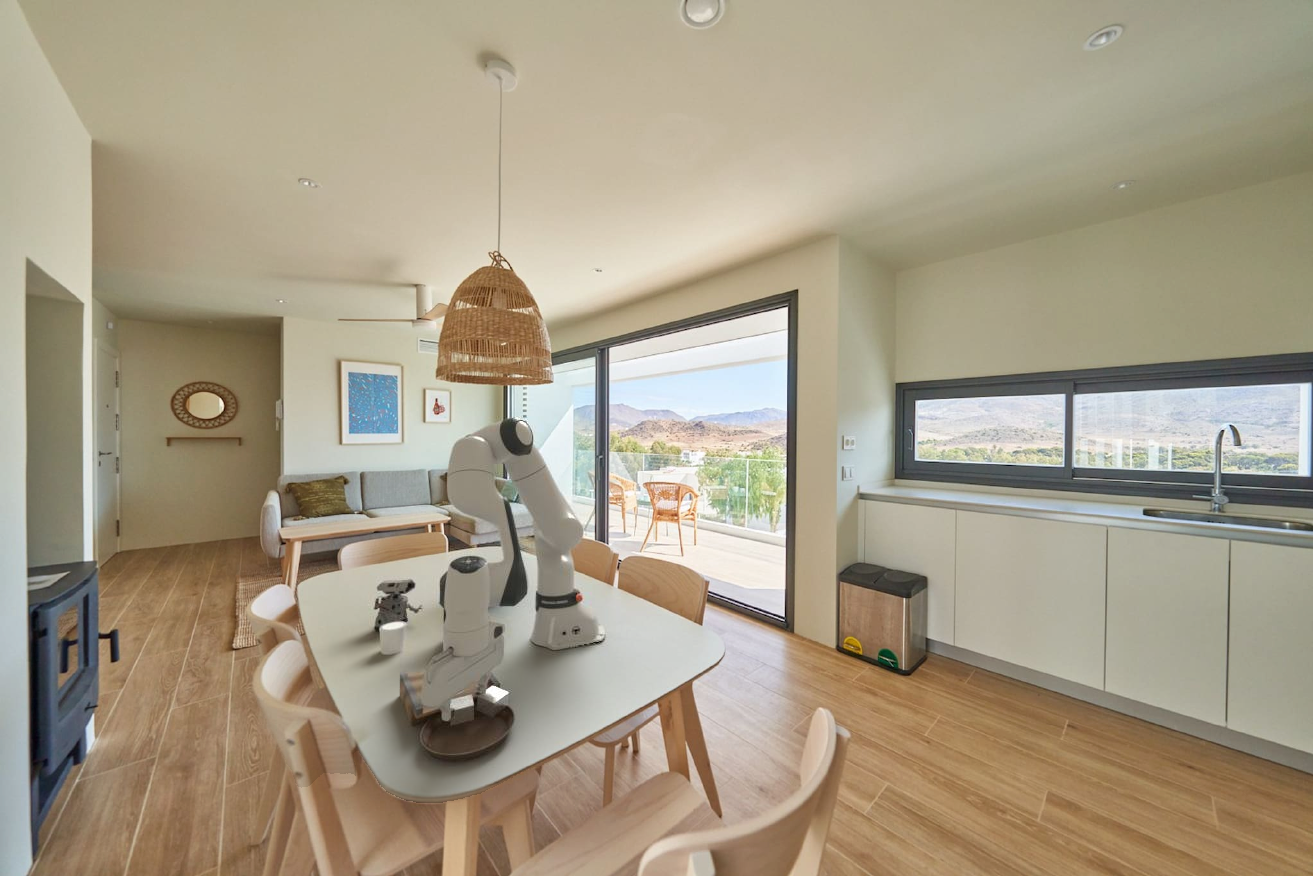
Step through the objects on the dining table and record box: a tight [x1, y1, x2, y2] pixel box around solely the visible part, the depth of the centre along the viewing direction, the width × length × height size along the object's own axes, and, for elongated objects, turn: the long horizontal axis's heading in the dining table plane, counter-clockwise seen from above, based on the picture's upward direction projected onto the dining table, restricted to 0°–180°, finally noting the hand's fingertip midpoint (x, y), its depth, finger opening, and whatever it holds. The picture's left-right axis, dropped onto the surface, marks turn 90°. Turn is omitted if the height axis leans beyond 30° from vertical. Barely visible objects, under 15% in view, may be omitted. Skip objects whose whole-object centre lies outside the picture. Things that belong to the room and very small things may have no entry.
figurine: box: [373, 579, 423, 632], centre depth 145 cm, size 9×12×15 cm
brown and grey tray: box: [399, 670, 501, 726], centre depth 105 cm, size 18×17×5 cm
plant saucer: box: [419, 699, 516, 762], centre depth 93 cm, size 18×18×3 cm
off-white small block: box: [449, 695, 474, 726], centre depth 95 cm, size 4×4×3 cm
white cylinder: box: [378, 621, 408, 656], centre depth 130 cm, size 7×7×7 cm
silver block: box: [477, 686, 510, 717], centre depth 97 cm, size 4×4×3 cm
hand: (465, 705), depth 94 cm, fingers open, 8 cm apart
